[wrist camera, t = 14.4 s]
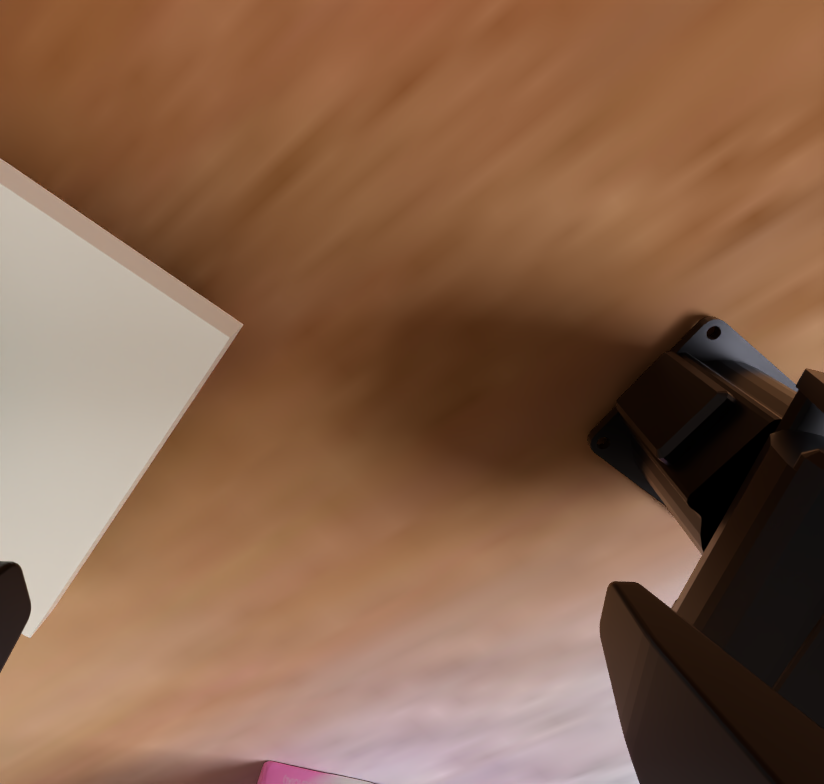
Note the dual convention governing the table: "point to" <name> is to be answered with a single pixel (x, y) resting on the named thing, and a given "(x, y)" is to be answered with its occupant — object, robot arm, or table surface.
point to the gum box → (300, 776)
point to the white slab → (84, 379)
